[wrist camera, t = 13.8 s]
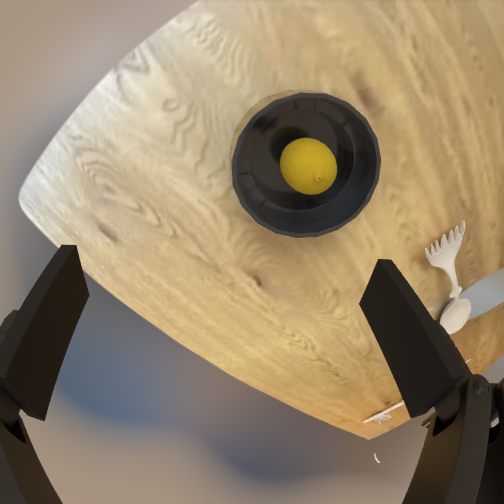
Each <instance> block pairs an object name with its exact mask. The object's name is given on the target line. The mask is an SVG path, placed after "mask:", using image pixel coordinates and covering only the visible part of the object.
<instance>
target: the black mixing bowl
mask: <svg viewBox="0 0 504 504" xmlns="http://www.w3.org/2000/svg"><path fill="white" fill-rule="evenodd" d="M300 138H312V139H316V140H318V141H320V142H322V143H323V144H325V145H326V146H327V147H328V148H329V149H330V150H331V152H332V154H333V155H334V157H335V160H336V164H337V174H336V178H335V180H334V182H333V184H332V185H331V186H330V187H329V188H328V189H327V190H325V191H324V192H322V193H319V194H313V195H310V194H304V193H301V192H298V191H296V190H295V189H294V188H292V187H291V186H290V185H289V184H288V183H287V182H286V181H285V179H284V177H283V175H282V173H281V168H280V158H281V155H282V152H283V150H284V149H285V147H286V146H287V145H288V144H289V143H291V142H292V141H294V140H296V139H300ZM231 163H232V178H233V186H234V189H235V191H236V193H237V196H238V198H239V200H240V203H241V205H242V207H243V208H244V209H245V210H246V211H247V212H248V213H249V215H250V216H251V217H252V218H253V219H254V220H255V221H256V222H257V223H258V224H260V225H262V226H264V227H265V228H267V229H269V230H271V231H273V232H274V233H276V234H281V235H286V236H290V237H295V238H304V237H318V236H321V235H324V234H327V233H330V232H333V231H335V230H338V229H340V228H341V227H343V226H344V225H346V224H347V223H348V222H350V221H351V220H353V219H354V218H356V217H357V215H358V214H359V213H360V212H361V211H362V210H363V208H364V207H365V206H366V205H367V204H368V202H369V201H370V199H371V197H372V195H373V192H374V190H375V188H376V186H377V183H378V181H379V173H380V165H381V157H380V151H379V146H378V141H377V137H376V135H375V134H374V132H373V130H372V128H371V126H370V125H369V123H368V121H367V119H366V118H365V117H364V116H363V115H362V114H361V113H359V112H358V111H357V110H356V109H355V108H354V107H353V106H352V105H350V104H349V103H348V102H345V101H343V100H341V99H338V98H336V97H333V96H331V95H328V94H325V93H319V92H313V91H294V90H289V91H284V92H281V93H278V94H275V95H271V96H268V97H266V98H265V99H263V100H262V101H261V102H259V103H258V104H256V105H255V106H254V107H252V108H251V109H250V110H249V111H248V112H247V113H246V115H245V116H244V118H243V119H242V121H241V122H240V123H239V125H238V126H237V128H236V131H235V135H234V138H233V142H232V145H231Z"/></svg>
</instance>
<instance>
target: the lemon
mask: <svg viewBox="0 0 504 504" xmlns="http://www.w3.org/2000/svg"><path fill="white" fill-rule="evenodd" d="M280 168H281V173H282V175H283V177H284V179H285V181H286V182H287V183H288V184H289V185H290V186H291V187H292V188H294V189H295V190H296V191H298V192H301V193H304V194H310V195H313V194H319V193H322V192H324V191H325V190H327V189H328V188H329V187H330V186H331V185H332V184H333V182H334V180H335V178H336V174H337V164H336V160H335V157H334V155H333V154H332V152H331V150H330V149H329V148H328V147H327V146H326V145H325V144H323V143H322V142H320V141H318V140H316V139H312V138H300V139H296V140H294V141H292V142H291V143H289V144H288V145H287V146H286V147H285V149H284V150H283V152H282V155H281V158H280Z"/></svg>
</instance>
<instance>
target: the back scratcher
mask: <svg viewBox="0 0 504 504" xmlns="http://www.w3.org/2000/svg"><path fill="white" fill-rule="evenodd" d="M465 229H466V223H465V221H464V220H462V223H461V227H460V229H459V227H458V225H456V228H455V231H454V234H453V230H452V229H451V230H450V233H449V237H448V240H447V238H446V235H443V236H442V239H441V243H440V247H439V243H438V240H436V242H435V250H434V247H433V245H432V244H431V247H430V253H429V251H428V249H427V248H424V251H425V254H426V257H427V259H428V261H429V262H430V264H431V265H432V266H434V267H439V268H442V269H443V270H444V271H445V272H446V273H447V274H448V276H449V278H450V280H451V284H452V291H451V293H450V295H449V296H450V298H454V300H453V302H452V303H451V304H450V306H449V307H448V308H447V309H446V311H445V312H444V314H443V316H442V317H441V320H440V324H441V325H442V326H443V327H444V328H445V330H446V331H447V333H448V334H453V333H455V332H457V331H458V330H460V329H461V328H462V327H463V326H464V324H465V323H466V322H467V320H468V317H469V315H470V311H471V305H470V301H469V300H468V299H465V298H460V299H459V294H460V292H461V291H462V287H458V283H457V278H456V273H455V268H454V261H455V257H456V254H457V252H458V250H459V248H460V245H461V242H462V237H463V234H464V232H465Z"/></svg>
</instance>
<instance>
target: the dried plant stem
mask: <svg viewBox="0 0 504 504" xmlns="http://www.w3.org/2000/svg"><path fill="white" fill-rule="evenodd" d="M469 360H470V359H469ZM469 360H468V361H469ZM468 361H466V362H468ZM403 404H405V403H404V400H403V401H402V402H400V403H398V404H396V405H394V406H392V407H390V408H388V409H387V410H385V411H383V412H379V413H377V414H375V415H373V417H371V418H369V419H367V420H365V421H363V424H364V423H366V422H368V421H371V420H375V421H376V422H377V421H378V422H379V423H380V424H381V422H380V421H379V420H385V419H388V418H390V417H391V415H389V414H386V413H388V412H389V411H391V410H393V409H395V408H397V407H399V406H401V405H403ZM378 422H377V423H378ZM375 459H376V461H377V462H379V463H380V461H378V460H377V458H376V456H375Z"/></svg>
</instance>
